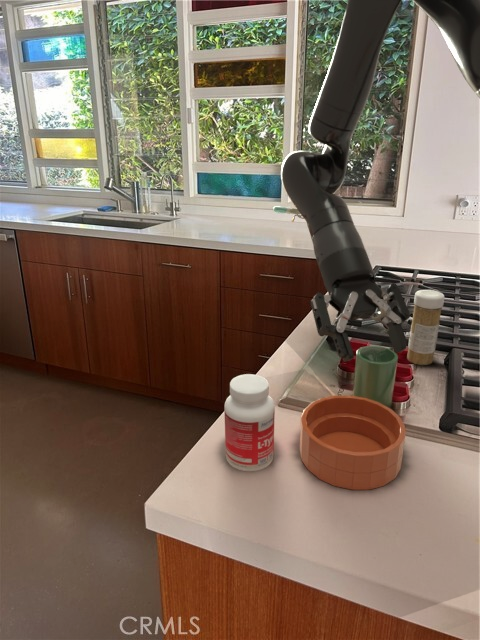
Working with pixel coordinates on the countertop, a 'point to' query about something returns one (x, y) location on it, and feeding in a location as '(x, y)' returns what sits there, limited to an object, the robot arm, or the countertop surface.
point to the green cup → (375, 374)
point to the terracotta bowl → (352, 442)
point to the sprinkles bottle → (424, 326)
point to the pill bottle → (249, 423)
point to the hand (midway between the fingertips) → (375, 355)
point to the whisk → (287, 211)
